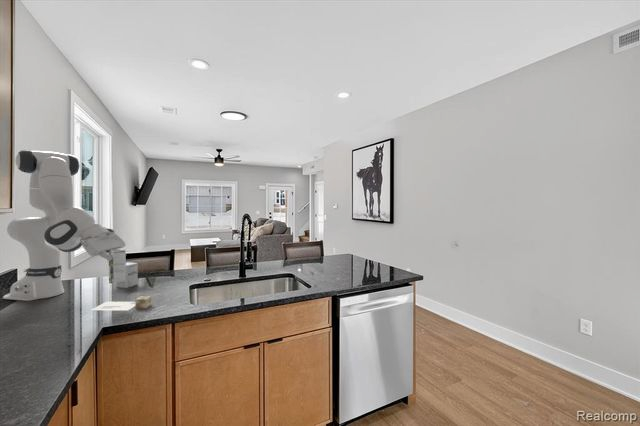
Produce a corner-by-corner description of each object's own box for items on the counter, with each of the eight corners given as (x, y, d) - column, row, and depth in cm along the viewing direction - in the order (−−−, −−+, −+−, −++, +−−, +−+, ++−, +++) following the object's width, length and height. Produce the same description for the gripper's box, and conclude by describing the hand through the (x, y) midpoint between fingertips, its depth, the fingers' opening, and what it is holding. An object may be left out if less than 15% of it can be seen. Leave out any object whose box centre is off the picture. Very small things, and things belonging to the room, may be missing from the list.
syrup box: (108, 280, 130) (107, 249, 129) (123, 278, 134) (123, 247, 133) (110, 283, 126) (109, 250, 125) (126, 280, 130) (125, 249, 129)
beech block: (135, 309, 128) (135, 299, 128) (140, 305, 133) (140, 296, 132) (146, 309, 128) (146, 299, 128) (151, 305, 133) (151, 296, 133)
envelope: (89, 311, 124) (89, 310, 124) (106, 302, 135) (106, 301, 135) (127, 311, 125) (127, 310, 125) (141, 302, 136) (141, 301, 136)
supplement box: (127, 288, 157) (127, 265, 156) (115, 287, 158) (115, 264, 158) (138, 284, 164) (138, 262, 164) (127, 283, 166) (127, 261, 165)
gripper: (83, 233, 118) (108, 257, 119) (115, 229, 139) (136, 249, 140) (72, 244, 118) (96, 267, 119) (105, 238, 138) (126, 258, 139)
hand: (118, 257), depth 130 cm, fingers closed on syrup box, 8 cm apart
